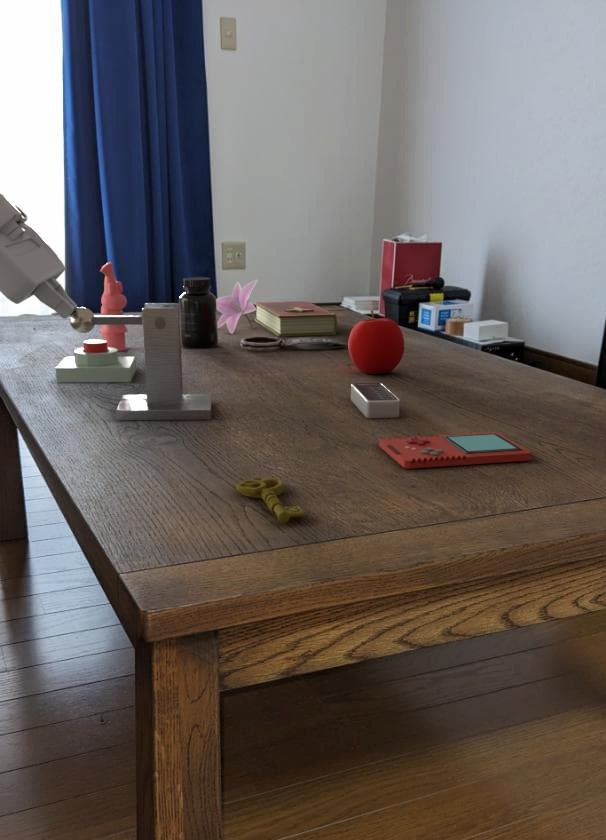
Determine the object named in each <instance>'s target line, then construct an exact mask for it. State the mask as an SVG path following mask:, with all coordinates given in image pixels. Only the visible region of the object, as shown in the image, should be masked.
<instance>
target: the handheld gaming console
mask: <svg viewBox="0 0 606 840" xmlns="http://www.w3.org/2000/svg"><path fill="white" fill-rule="evenodd" d="M379 448H380V449H382V450H383V452H385V453H386V454H387V455H389V456H390V457H391V458H392V459H393V460H394V461H395V462H397V463H398V464H399V465H400V466H401V467H403V469H422V468H425V469H426V468H436V467H437V468H439V467H452V466H453V467H455V466H468V465H481V464H482V465H483V464H496V463H497V464H498V463H511V462H527V461H531V457H532V451H530V450H528V449H527V448H526V447H523V446H522V445H520V444H519V443H517V442H515V441H513V440H512V439H510V438H508V437H506V436H505V435H503V434H502V433H500V432H498V431H488V432H486V431H485V432H473V433H472V432H471V433H455V434H437V435H430V436H429V435H425V436H414V437H413V436H409V437H407V436H404V437H398V438H397V437H393V438H392V437H388V438H380V439H379Z"/></svg>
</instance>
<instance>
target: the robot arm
mask: <svg viewBox="0 0 606 840" xmlns="http://www.w3.org/2000/svg"><path fill="white" fill-rule="evenodd" d="M28 219H29V217H28V215H27V214H26V213H25V212H24V211H23V210H22V209H21V208H20V207H19V206H17V205H15V204H13V203H12V202H11V201H10V200H9V199H8V198H7V197H6V196H5V195H4V194H3V193H2V192H1V191H0V293H1V294H2V295H3V296H4V297H5V298H6V299H8V300H9V301H10V302H12V303H14V304H16V305H19V304H21V303H23V302H24V301H26V300H28V299H30V298H31V297H33V296H34V297H35V298H36V299H38V301H39V302H41V303H42V304H44V305H45V306H47V307H49V309H51V310H53V311H55V313H56V314H58V316H60V318H62V319H64V320H66V319H68V318H70V315H71V314H72V313H73V312H74V311H75V309H76V308H78V304H77V303H76V302H75V301H74V300H73V299H72V298H71V297H70V296H69V294H68V293H67V291H66V290H65V289H64V287H63V286H62V283H60V282H59V281H58V279H59V278H60V277H61V275H62V274H63V273H64V272H65V271H66V267H65V264H64V262H63V261H62V260H61V258H60V257H59V255H58V254H57V253H56V252H55V251H54V249H52V247H51V246H50V245H49V244H48V243H47V242H46V241H45V240H44V238H43V237H42V236H41V235H40V234H39V233H38V232H37V230H36V229H35V228H33V226H32V225H30V224H29V223H28V222H27V220H28Z"/></svg>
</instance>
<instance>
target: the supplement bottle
mask: <svg viewBox="0 0 606 840" xmlns="http://www.w3.org/2000/svg"><path fill="white" fill-rule="evenodd" d="M182 280H183V286H182V289H183V290H184V292H183V293H182V294H181V295H180V296H179V298H178V303H179V310H180V335H181V346H183V347H184V348H190V349H206V348H213V347H215V346H217V345H218V343H219V331H218V330H219V328H217V322H218V310H217V304H216V299H217V297H216V295H214V293H212V292H211V291H210V289H211V287H212V286H211V278H210V277H206V276H189V277H184V278H183V279H182Z"/></svg>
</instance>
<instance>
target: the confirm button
mask: <svg viewBox="0 0 606 840" xmlns="http://www.w3.org/2000/svg"><path fill="white" fill-rule="evenodd" d="M82 344H83V348H84V352H86V353H102V352H108V346H107V341H106V340H103V339H87V340H84V341H83V342H82Z"/></svg>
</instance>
